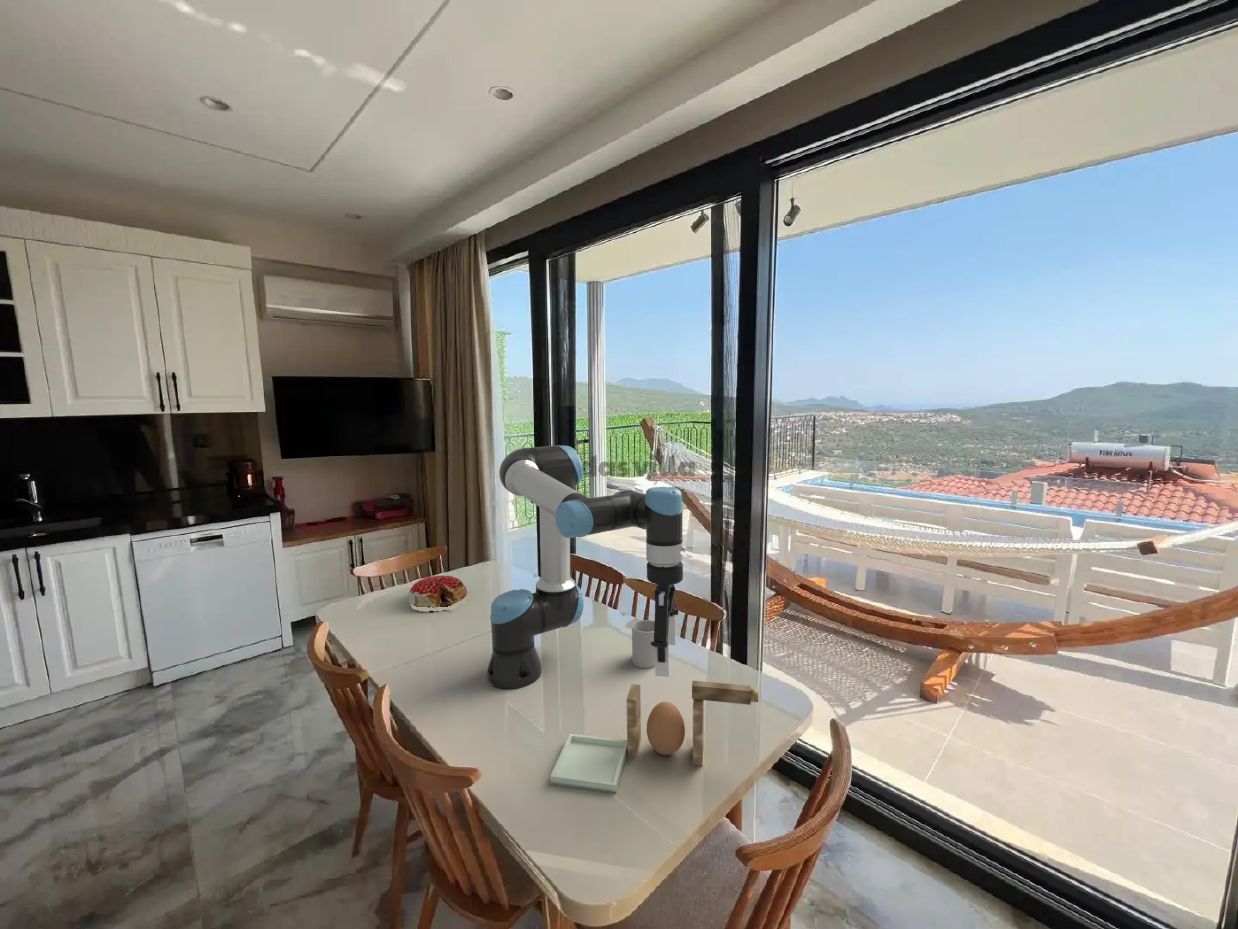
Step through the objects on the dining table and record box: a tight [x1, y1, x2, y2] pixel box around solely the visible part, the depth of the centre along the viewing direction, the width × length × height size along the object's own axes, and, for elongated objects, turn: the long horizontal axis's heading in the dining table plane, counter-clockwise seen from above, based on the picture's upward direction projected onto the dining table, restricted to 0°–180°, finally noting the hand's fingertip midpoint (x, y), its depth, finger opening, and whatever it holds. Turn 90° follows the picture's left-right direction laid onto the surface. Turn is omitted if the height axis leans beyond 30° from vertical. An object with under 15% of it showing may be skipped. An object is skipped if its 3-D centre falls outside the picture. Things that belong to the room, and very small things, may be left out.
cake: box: [408, 575, 468, 608], centre depth 197 cm, size 23×24×10 cm
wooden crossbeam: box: [691, 680, 759, 706], centre depth 106 cm, size 14×2×3 cm, turn 78°
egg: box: [646, 701, 686, 756], centre depth 110 cm, size 8×8×11 cm
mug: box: [631, 619, 655, 669], centre depth 150 cm, size 12×8×11 cm
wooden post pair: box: [626, 683, 705, 767], centre depth 109 cm, size 16×6×13 cm, turn 78°
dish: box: [549, 733, 627, 794], centre depth 106 cm, size 13×13×2 cm
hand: (666, 658), depth 108 cm, fingers open, 13 cm apart
